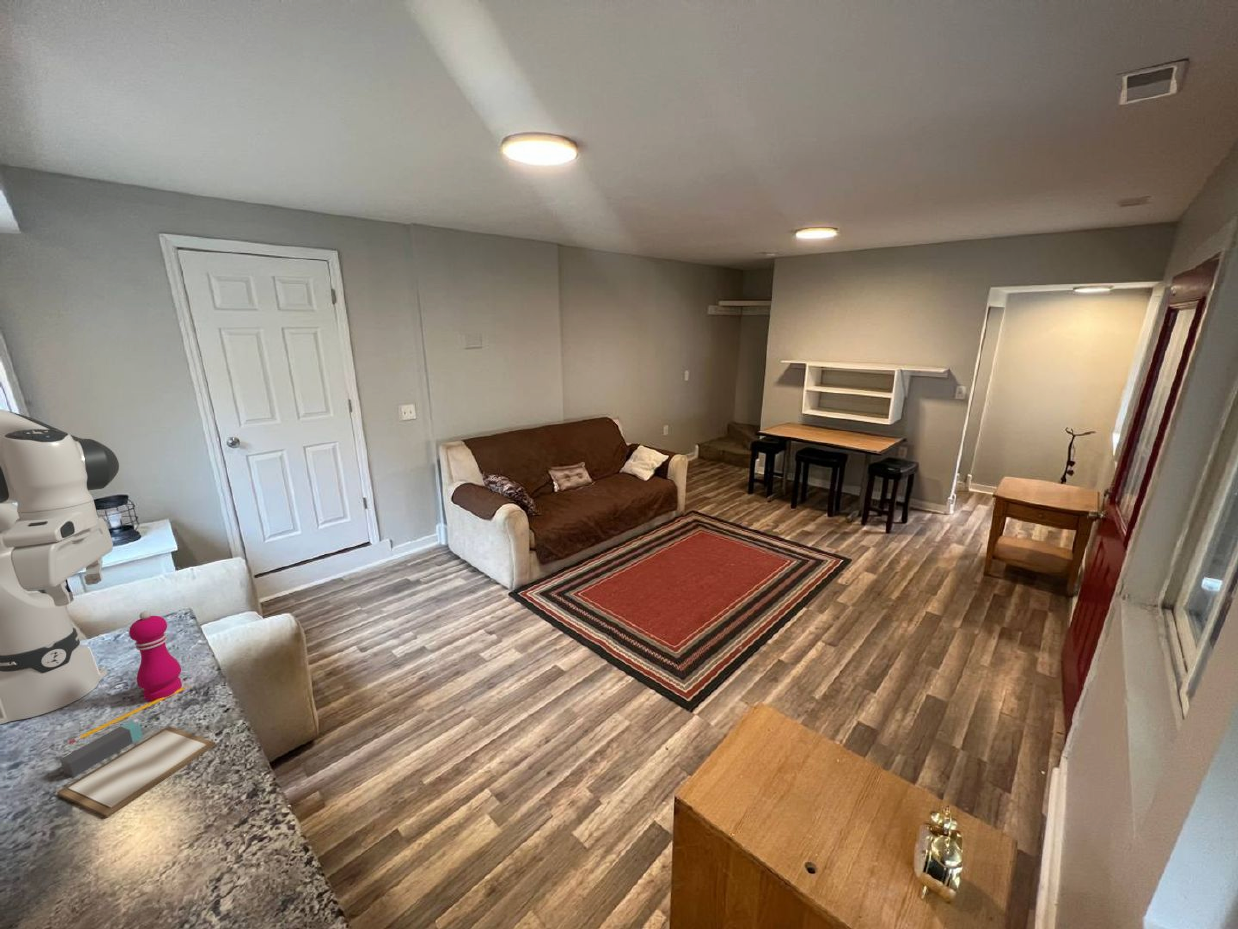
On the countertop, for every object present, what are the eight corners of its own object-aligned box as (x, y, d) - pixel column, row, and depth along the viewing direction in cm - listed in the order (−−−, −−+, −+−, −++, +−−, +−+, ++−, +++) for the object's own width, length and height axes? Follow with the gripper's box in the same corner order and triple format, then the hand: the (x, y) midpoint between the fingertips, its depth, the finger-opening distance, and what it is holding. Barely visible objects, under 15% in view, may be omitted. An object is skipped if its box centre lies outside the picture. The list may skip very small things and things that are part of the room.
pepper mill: (158, 705, 104) (137, 621, 100) (132, 701, 105) (111, 618, 101) (193, 683, 111) (175, 605, 107) (168, 680, 112) (150, 602, 108)
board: (57, 795, 82) (56, 791, 82) (169, 729, 97) (168, 725, 97) (106, 818, 77) (105, 814, 77) (215, 745, 92) (214, 741, 92)
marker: (64, 773, 86) (60, 759, 86) (133, 733, 96) (130, 720, 95) (73, 777, 85) (69, 763, 85) (143, 737, 95) (139, 724, 94)
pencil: (69, 743, 94) (68, 740, 94) (190, 686, 110) (189, 683, 110) (71, 745, 93) (70, 742, 93) (192, 687, 110) (191, 684, 110)
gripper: (71, 509, 92) (88, 575, 95) (-7, 541, 74) (18, 622, 77) (114, 504, 95) (130, 569, 98) (50, 534, 77) (71, 613, 79)
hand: (80, 593), depth 87 cm, fingers open, 8 cm apart
